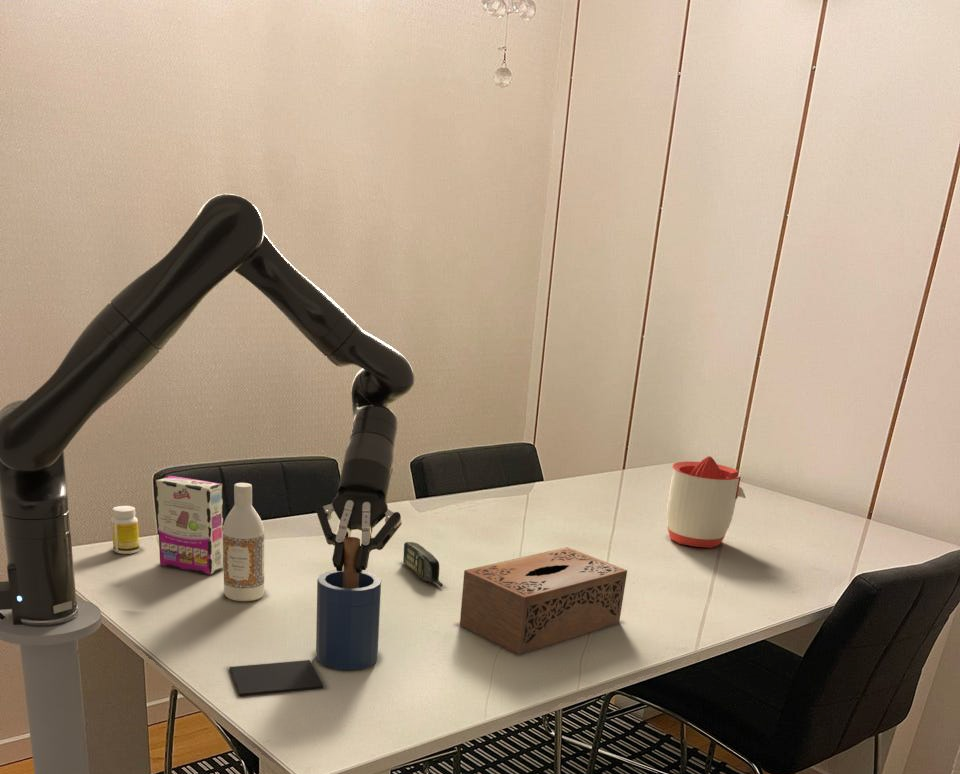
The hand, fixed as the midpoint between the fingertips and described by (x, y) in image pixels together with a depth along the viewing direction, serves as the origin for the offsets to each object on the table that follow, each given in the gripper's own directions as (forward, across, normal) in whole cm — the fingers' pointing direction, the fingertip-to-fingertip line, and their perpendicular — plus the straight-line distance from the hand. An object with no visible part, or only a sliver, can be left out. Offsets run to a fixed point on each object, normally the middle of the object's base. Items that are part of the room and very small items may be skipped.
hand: (348, 569), depth 143 cm
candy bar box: (-13, -36, +35) cm, 52 cm away
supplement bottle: (-17, -51, +38) cm, 66 cm away
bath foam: (-5, -23, +27) cm, 36 cm away
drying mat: (+16, -9, +5) cm, 19 cm away
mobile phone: (-19, +6, +42) cm, 46 cm away
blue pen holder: (+9, 0, +12) cm, 15 cm away
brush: (+6, 0, +8) cm, 10 cm away
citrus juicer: (-50, +65, +72) cm, 109 cm away
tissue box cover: (-6, +30, +28) cm, 42 cm away
